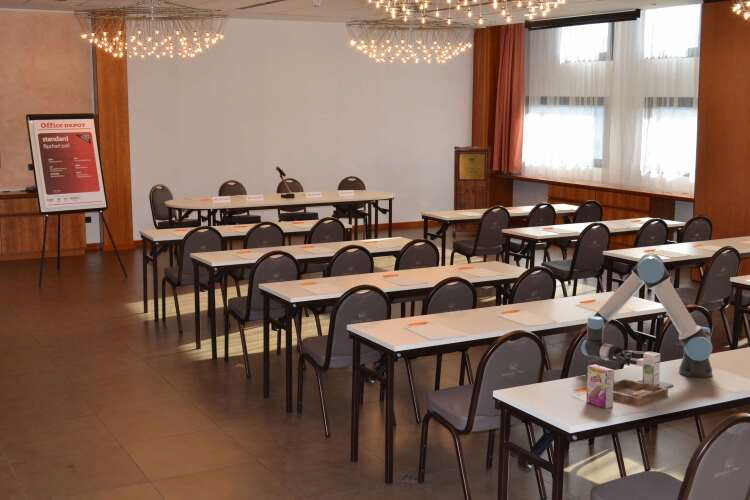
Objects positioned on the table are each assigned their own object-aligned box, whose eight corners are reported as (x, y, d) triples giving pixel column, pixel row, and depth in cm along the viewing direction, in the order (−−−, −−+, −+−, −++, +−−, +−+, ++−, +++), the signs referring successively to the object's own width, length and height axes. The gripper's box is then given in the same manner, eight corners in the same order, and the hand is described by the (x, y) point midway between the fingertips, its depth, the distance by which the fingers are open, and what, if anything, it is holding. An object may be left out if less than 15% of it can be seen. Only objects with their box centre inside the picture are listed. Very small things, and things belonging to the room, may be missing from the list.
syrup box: (659, 383, 418) (660, 353, 416) (653, 386, 414) (654, 355, 412) (648, 381, 422) (649, 350, 420) (641, 383, 418) (643, 353, 416)
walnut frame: (595, 395, 402) (596, 388, 402) (625, 386, 418) (625, 378, 417) (638, 406, 387) (639, 398, 386) (667, 396, 402) (668, 388, 401)
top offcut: (631, 396, 396) (631, 394, 396) (642, 392, 403) (642, 389, 403) (642, 398, 393) (642, 396, 392) (652, 394, 400) (652, 391, 400)
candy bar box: (585, 402, 392) (586, 365, 390) (593, 400, 395) (595, 363, 393) (605, 409, 383) (606, 371, 381) (613, 407, 385) (614, 369, 383)
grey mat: (629, 385, 419) (629, 383, 419) (646, 380, 428) (646, 378, 428) (656, 392, 409) (656, 389, 408) (673, 386, 418) (673, 384, 418)
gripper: (626, 356, 441) (665, 364, 426) (596, 365, 425) (636, 373, 409) (626, 341, 440) (666, 349, 425) (596, 349, 424) (637, 357, 408)
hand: (651, 361), depth 417 cm, fingers open, 13 cm apart
